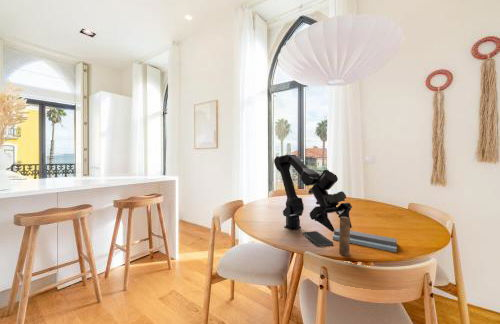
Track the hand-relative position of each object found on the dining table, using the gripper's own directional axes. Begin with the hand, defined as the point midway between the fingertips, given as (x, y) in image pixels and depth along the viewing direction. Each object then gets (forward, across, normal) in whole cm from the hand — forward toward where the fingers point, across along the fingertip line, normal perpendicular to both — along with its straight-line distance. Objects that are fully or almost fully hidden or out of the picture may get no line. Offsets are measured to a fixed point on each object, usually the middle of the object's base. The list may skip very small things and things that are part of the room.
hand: (342, 229), depth 87 cm
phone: (-4, +1, +17) cm, 18 cm away
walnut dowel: (+7, 0, +6) cm, 9 cm away
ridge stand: (+4, +17, +9) cm, 20 cm away
